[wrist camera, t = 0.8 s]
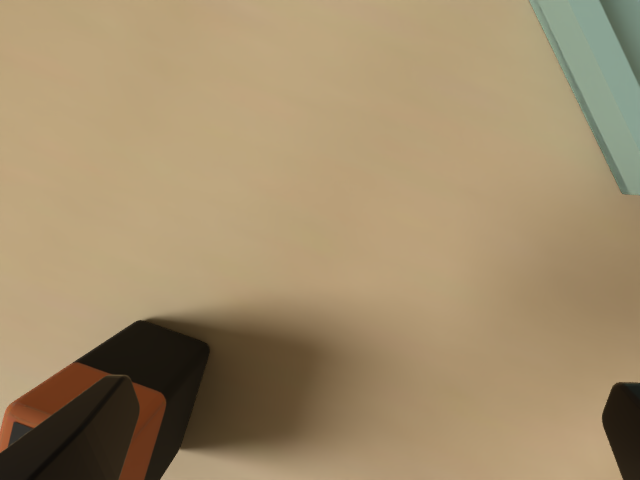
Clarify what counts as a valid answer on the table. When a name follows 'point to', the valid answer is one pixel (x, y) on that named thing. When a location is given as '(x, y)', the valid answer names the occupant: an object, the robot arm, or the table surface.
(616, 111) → the tray
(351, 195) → the table surface
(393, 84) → the table surface
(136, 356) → the battery
